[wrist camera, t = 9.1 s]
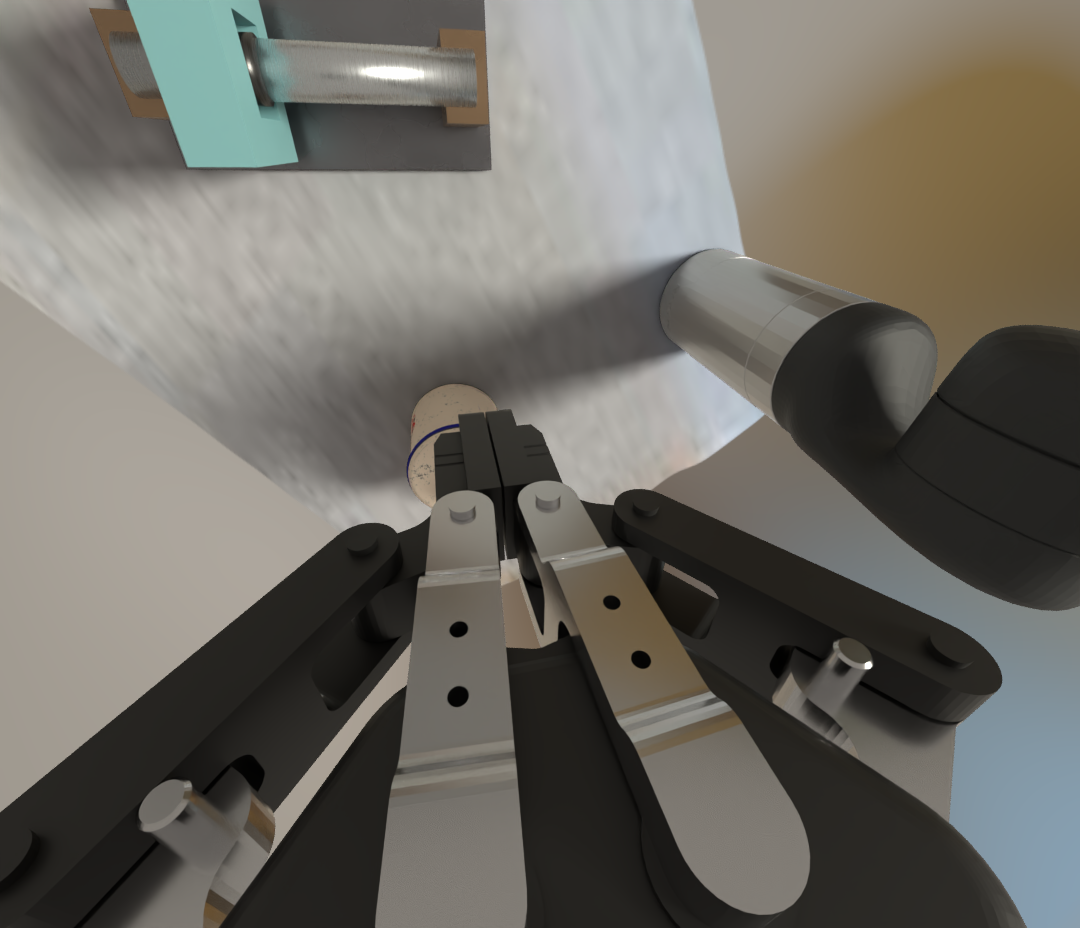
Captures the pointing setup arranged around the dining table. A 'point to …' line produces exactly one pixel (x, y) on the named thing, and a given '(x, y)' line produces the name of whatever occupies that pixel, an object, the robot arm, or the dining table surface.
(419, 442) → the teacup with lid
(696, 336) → the robot arm
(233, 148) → the collar
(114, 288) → the dining table surface
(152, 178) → the dining table surface
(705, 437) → the dining table surface
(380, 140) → the pipe rig
